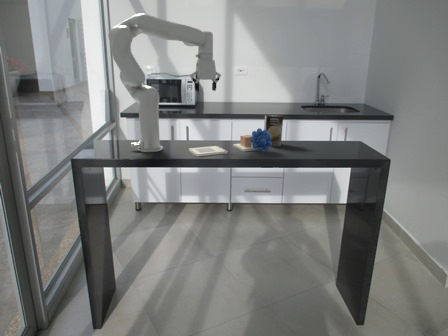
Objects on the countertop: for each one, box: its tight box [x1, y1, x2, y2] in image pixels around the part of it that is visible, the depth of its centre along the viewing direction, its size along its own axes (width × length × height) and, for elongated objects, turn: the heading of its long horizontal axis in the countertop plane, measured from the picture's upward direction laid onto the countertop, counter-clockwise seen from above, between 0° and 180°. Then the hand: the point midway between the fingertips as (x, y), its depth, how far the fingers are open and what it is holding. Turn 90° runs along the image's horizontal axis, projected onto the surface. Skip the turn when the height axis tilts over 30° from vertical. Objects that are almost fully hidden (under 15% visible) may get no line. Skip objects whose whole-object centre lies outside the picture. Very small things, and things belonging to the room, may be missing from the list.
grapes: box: [250, 127, 273, 153], centre depth 177 cm, size 12×7×12 cm, turn 102°
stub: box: [232, 135, 258, 153], centre depth 185 cm, size 8×12×6 cm, turn 25°
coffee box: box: [263, 114, 284, 147], centre depth 193 cm, size 9×6×16 cm
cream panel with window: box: [188, 145, 228, 157], centre depth 177 cm, size 16×12×1 cm
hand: (205, 90), depth 189 cm, fingers open, 9 cm apart
